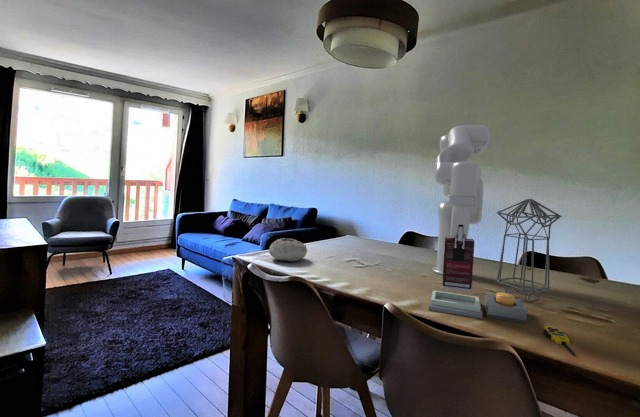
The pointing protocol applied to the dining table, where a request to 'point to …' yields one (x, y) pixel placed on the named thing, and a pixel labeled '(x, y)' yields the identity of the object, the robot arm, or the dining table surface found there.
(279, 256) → the grey rounded lump
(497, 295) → the button
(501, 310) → the button housing
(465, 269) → the supplement box
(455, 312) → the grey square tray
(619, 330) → the dining table surface
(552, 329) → the yellow black handheld tool
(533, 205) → the geometric lantern
